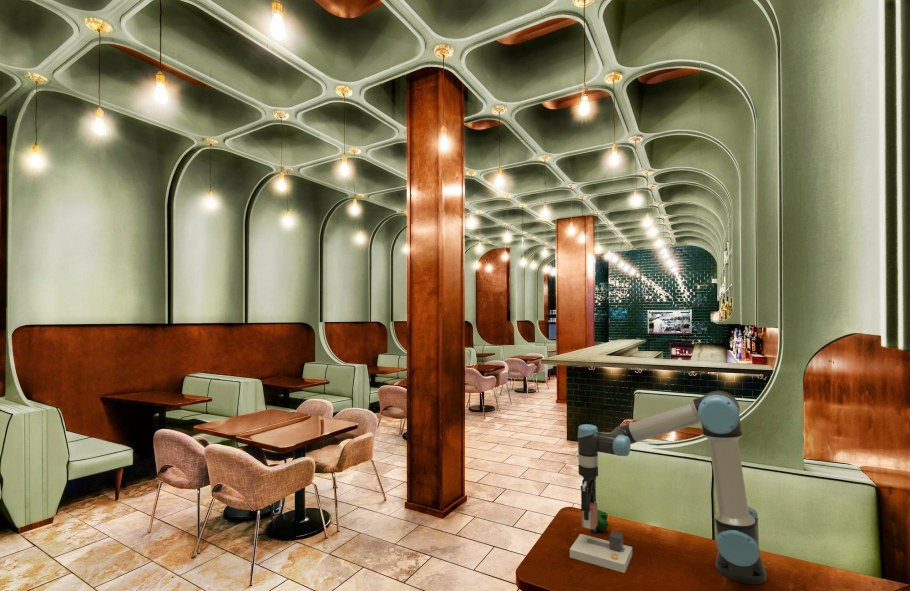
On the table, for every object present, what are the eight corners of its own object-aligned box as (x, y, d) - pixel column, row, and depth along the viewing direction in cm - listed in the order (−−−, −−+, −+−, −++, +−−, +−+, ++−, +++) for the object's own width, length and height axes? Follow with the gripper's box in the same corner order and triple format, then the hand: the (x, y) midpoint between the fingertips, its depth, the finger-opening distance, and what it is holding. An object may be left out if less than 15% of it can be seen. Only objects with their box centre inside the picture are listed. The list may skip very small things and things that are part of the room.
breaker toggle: (623, 545, 170) (622, 533, 170) (620, 551, 166) (620, 539, 166) (612, 543, 172) (612, 530, 172) (609, 548, 168) (609, 536, 168)
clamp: (603, 542, 187) (608, 527, 184) (589, 537, 189) (593, 522, 185) (604, 520, 198) (609, 505, 194) (591, 515, 199) (595, 501, 196)
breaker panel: (632, 555, 169) (632, 544, 170) (624, 573, 158) (624, 561, 158) (580, 541, 180) (580, 531, 180) (569, 557, 168) (569, 546, 168)
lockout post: (597, 524, 175) (597, 503, 176) (594, 529, 171) (593, 508, 171) (585, 521, 178) (584, 501, 178) (581, 526, 174) (581, 505, 174)
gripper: (585, 457, 185) (586, 513, 184) (571, 470, 170) (572, 531, 169) (603, 460, 181) (604, 518, 180) (591, 473, 166) (592, 536, 165)
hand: (589, 524), depth 174 cm, fingers closed on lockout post, 5 cm apart
